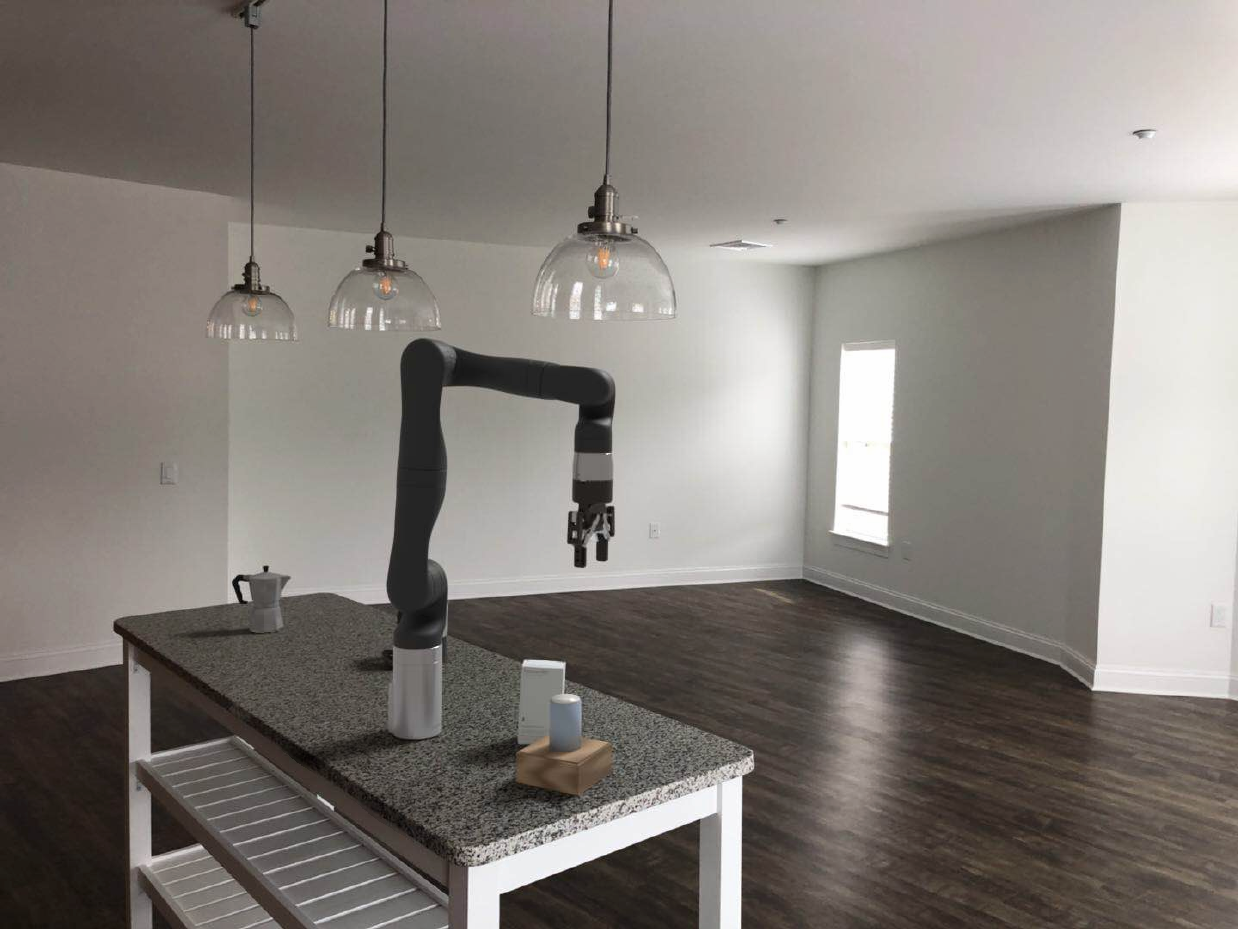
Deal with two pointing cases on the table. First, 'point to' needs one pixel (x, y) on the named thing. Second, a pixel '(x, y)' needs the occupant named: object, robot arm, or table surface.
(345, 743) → the table surface
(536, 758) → the cardboard box
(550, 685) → the skincare box
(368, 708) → the table surface
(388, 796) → the table surface
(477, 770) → the table surface
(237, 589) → the coffeepot
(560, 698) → the canister
